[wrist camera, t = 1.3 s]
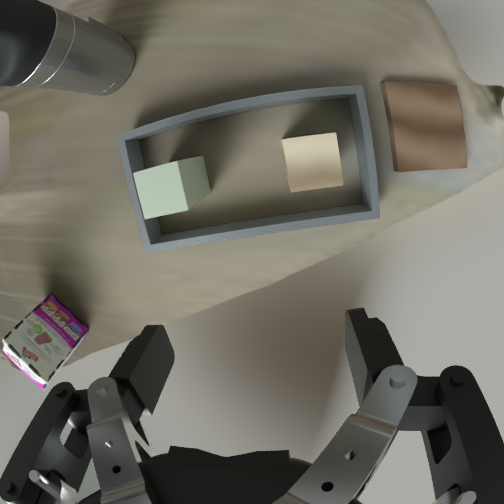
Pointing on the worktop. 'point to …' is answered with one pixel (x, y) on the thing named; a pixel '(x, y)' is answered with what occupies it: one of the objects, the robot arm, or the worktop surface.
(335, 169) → the birch block
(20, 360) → the candy bar box
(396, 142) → the walnut board
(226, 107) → the grey bin
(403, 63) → the worktop surface
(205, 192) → the sage block
